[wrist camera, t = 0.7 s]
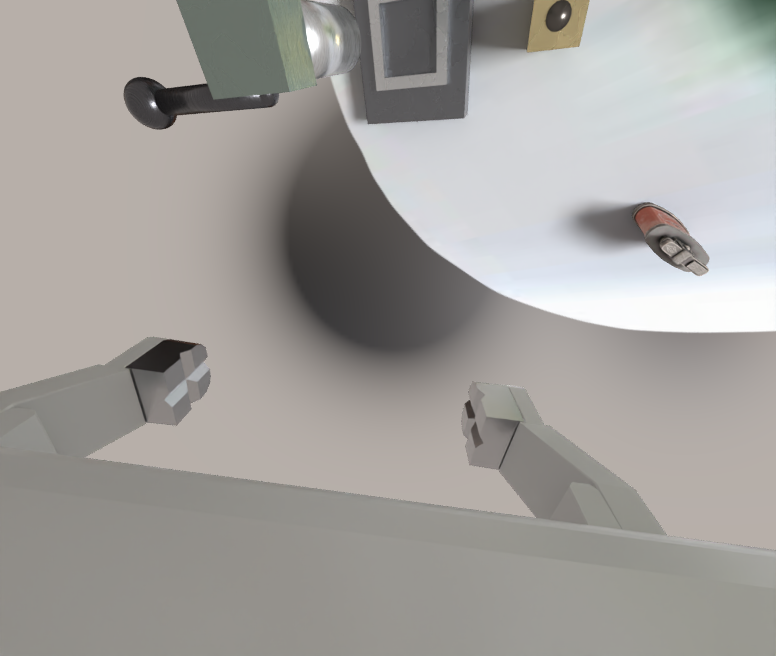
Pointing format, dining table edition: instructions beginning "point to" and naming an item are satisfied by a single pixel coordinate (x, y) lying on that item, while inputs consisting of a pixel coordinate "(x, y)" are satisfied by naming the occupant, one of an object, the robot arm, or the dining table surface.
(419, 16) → the press
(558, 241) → the dining table surface
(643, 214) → the lighter
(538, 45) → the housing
